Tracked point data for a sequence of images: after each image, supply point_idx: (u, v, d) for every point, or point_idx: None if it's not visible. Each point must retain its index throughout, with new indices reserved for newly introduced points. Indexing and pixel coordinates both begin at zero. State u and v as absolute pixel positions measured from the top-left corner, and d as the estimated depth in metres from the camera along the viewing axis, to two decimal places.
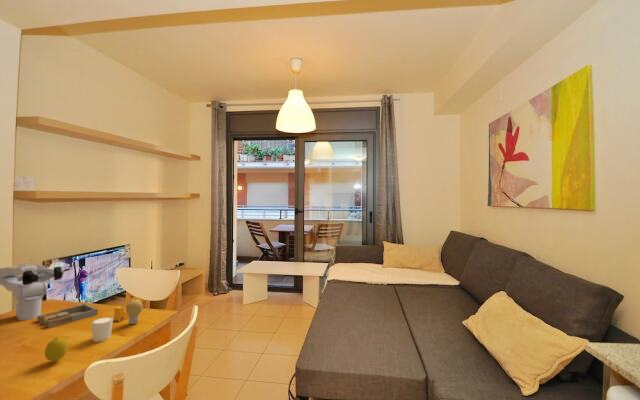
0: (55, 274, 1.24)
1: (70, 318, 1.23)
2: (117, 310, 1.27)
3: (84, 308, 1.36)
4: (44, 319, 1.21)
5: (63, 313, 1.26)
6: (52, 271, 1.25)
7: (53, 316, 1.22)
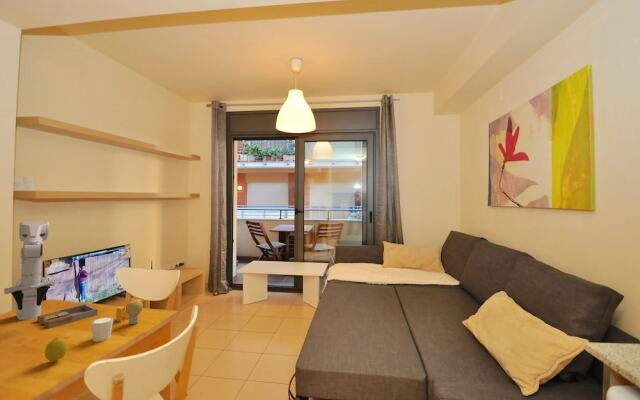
0: (38, 292, 1.19)
1: (70, 318, 1.23)
2: (119, 310, 1.26)
3: (84, 308, 1.36)
4: (44, 319, 1.21)
5: (63, 313, 1.26)
6: None
7: (53, 316, 1.22)
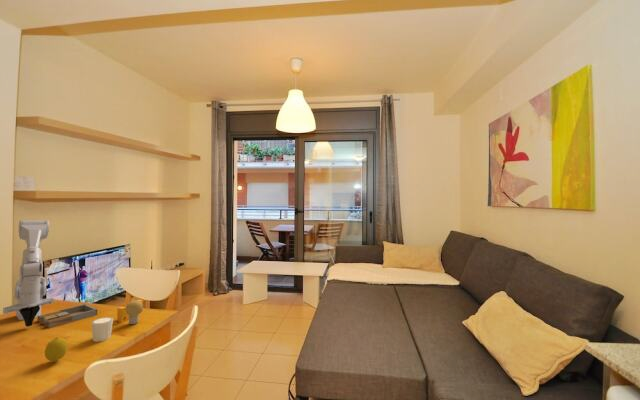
0: None
1: (70, 318, 1.23)
2: (120, 310, 1.26)
3: (84, 308, 1.36)
4: (44, 319, 1.21)
5: (63, 313, 1.26)
6: None
7: (53, 316, 1.22)
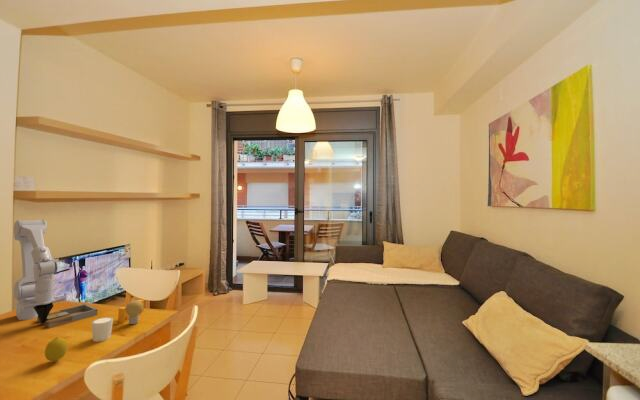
0: None
1: (70, 318, 1.23)
2: (121, 310, 1.26)
3: (84, 308, 1.36)
4: None
5: (63, 313, 1.26)
6: None
7: (54, 316, 1.23)
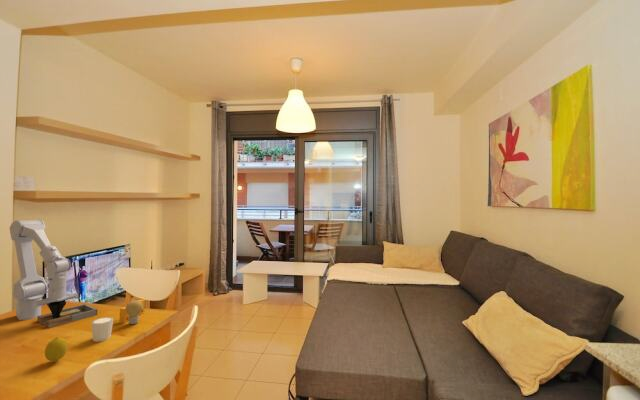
0: None
1: (70, 318, 1.23)
2: (122, 310, 1.26)
3: (84, 308, 1.36)
4: None
5: (74, 310, 1.29)
6: None
7: (66, 313, 1.26)
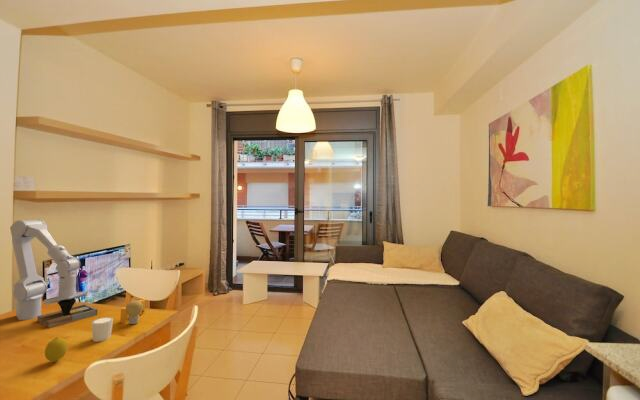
0: None
1: (70, 318, 1.23)
2: (123, 310, 1.26)
3: None
4: None
5: (84, 308, 1.32)
6: None
7: (76, 310, 1.29)
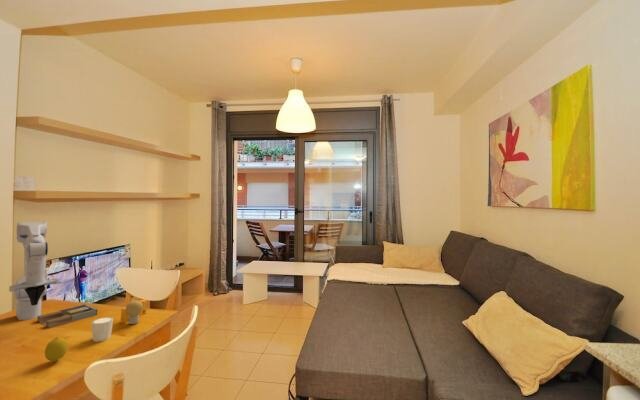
0: None
1: (70, 318, 1.23)
2: (124, 310, 1.26)
3: None
4: (67, 313, 1.28)
5: (84, 308, 1.32)
6: None
7: (76, 310, 1.29)
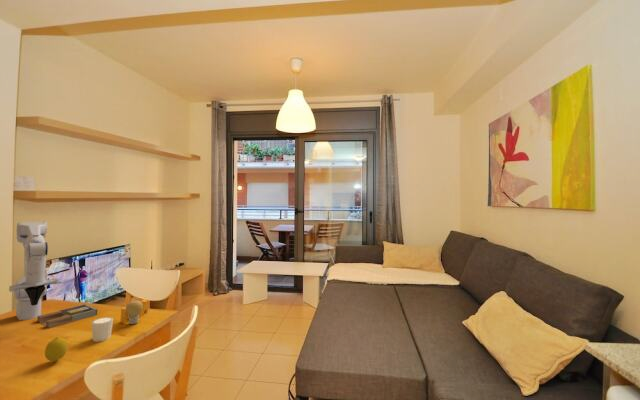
0: None
1: (70, 318, 1.23)
2: (123, 310, 1.26)
3: None
4: (67, 313, 1.28)
5: (84, 308, 1.32)
6: None
7: (76, 310, 1.29)
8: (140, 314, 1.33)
